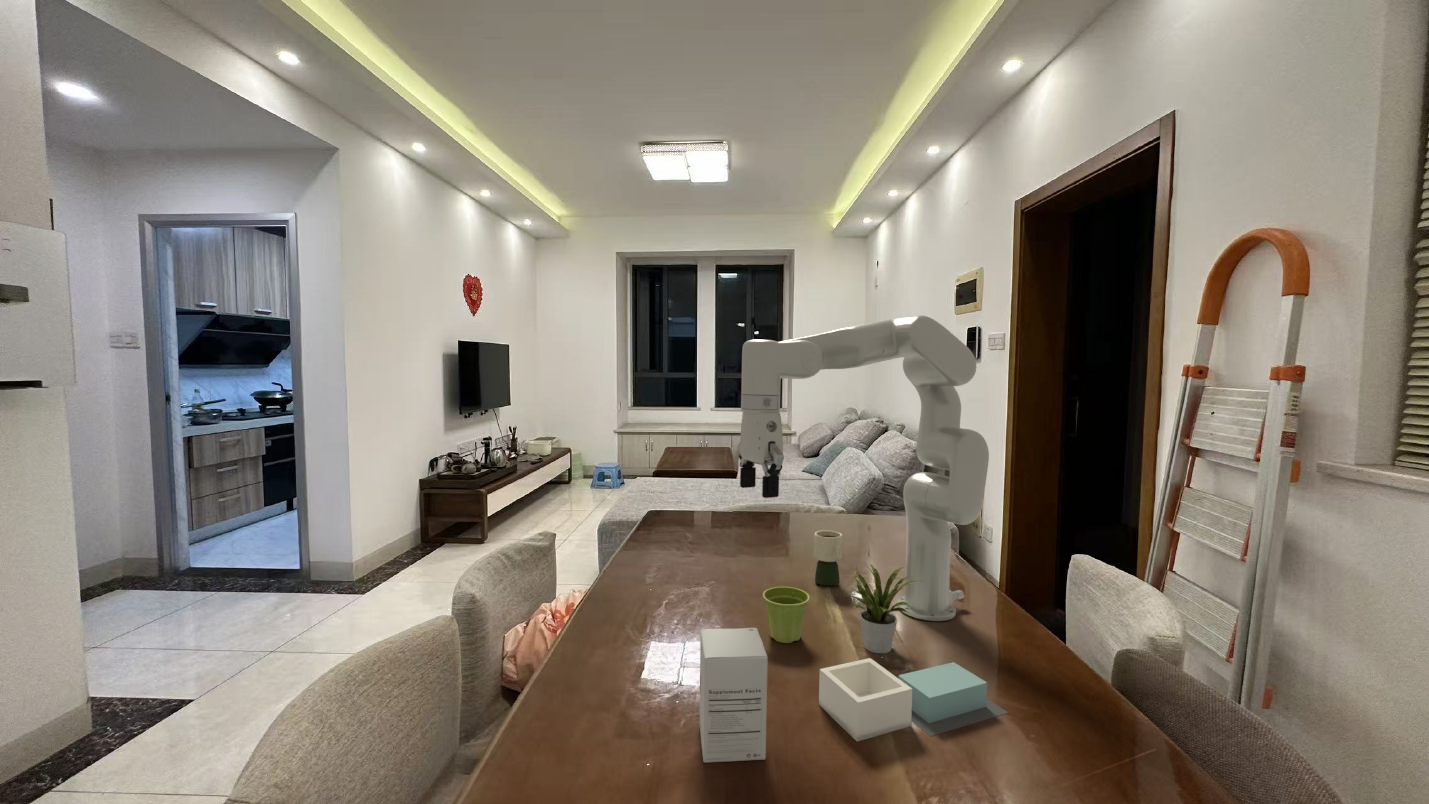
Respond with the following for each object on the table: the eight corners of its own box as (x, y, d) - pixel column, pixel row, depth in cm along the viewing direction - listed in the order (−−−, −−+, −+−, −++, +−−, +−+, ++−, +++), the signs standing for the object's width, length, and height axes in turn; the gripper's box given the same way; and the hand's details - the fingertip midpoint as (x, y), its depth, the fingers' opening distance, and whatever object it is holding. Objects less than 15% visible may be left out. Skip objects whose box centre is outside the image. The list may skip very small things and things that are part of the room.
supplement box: (698, 723, 86) (699, 627, 86) (756, 721, 87) (758, 626, 86) (701, 764, 77) (703, 657, 76) (766, 761, 78) (768, 655, 77)
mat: (950, 676, 101) (950, 675, 101) (1008, 713, 90) (1008, 712, 90) (877, 694, 95) (877, 693, 95) (930, 737, 84) (930, 736, 84)
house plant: (921, 638, 116) (924, 559, 115) (923, 671, 103) (926, 583, 102) (850, 627, 120) (852, 551, 119) (843, 657, 107) (845, 572, 106)
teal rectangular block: (952, 684, 98) (953, 662, 98) (986, 706, 91) (987, 682, 91) (897, 699, 93) (898, 675, 93) (928, 723, 87) (929, 698, 87)
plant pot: (807, 650, 110) (808, 606, 109) (759, 645, 112) (760, 601, 111) (809, 629, 119) (810, 588, 119) (764, 624, 121) (765, 584, 120)
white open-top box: (869, 692, 95) (870, 658, 95) (911, 727, 86) (912, 688, 86) (818, 705, 91) (819, 669, 91) (856, 742, 82) (858, 702, 82)
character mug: (851, 590, 141) (852, 538, 141) (826, 593, 139) (827, 541, 138) (827, 575, 152) (829, 527, 151) (804, 578, 149) (805, 529, 149)
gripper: (800, 406, 103) (798, 500, 103) (757, 402, 119) (756, 482, 119) (763, 406, 100) (761, 502, 101) (725, 402, 116) (723, 484, 117)
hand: (758, 492), depth 110 cm, fingers open, 9 cm apart
